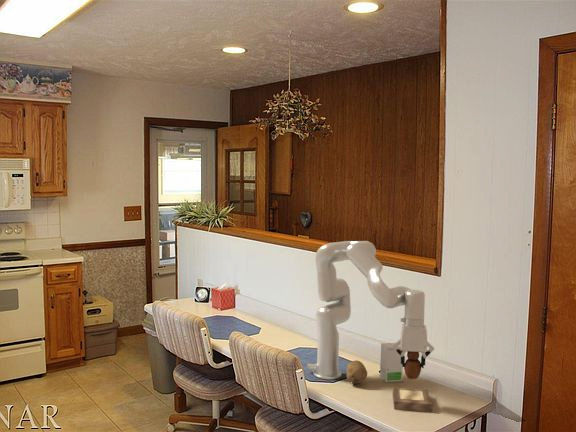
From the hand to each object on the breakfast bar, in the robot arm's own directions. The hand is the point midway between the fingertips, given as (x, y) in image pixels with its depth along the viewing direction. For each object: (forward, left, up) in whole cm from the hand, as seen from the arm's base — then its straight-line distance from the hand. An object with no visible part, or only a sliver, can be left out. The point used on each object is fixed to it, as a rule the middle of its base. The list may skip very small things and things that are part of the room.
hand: (412, 366), depth 214 cm
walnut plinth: (0, 0, -15) cm, 15 cm away
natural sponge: (-22, +16, -15) cm, 31 cm away
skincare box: (-7, +24, -15) cm, 29 cm away
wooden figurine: (0, 0, -5) cm, 5 cm away
